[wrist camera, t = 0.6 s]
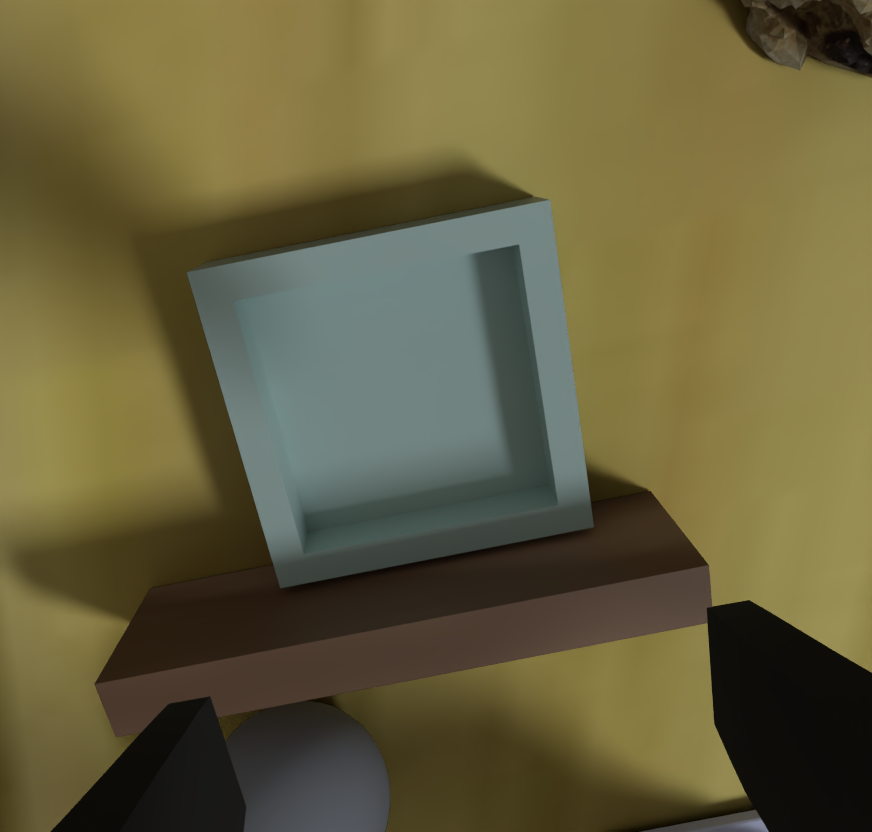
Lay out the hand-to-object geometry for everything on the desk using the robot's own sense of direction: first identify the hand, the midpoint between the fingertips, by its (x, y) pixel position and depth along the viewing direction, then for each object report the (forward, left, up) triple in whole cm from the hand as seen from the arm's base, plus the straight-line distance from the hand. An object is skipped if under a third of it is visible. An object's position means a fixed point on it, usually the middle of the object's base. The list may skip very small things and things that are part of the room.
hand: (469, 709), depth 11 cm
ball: (-8, +5, -10) cm, 14 cm away
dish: (+2, 0, -10) cm, 10 cm away
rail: (-3, +1, -10) cm, 10 cm away
